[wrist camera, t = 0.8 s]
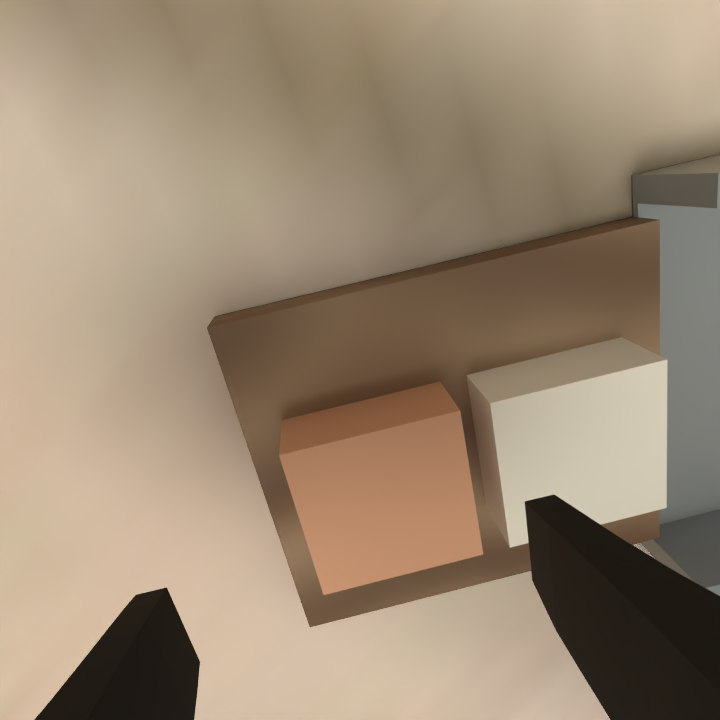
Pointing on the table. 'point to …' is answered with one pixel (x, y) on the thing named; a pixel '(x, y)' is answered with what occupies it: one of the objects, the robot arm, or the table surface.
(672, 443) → the grey box
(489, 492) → the cream tile
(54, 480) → the table surface
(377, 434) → the terracotta tile
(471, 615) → the table surface
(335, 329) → the walnut board
